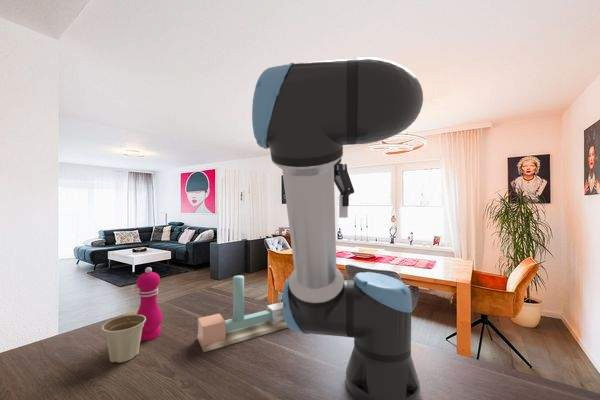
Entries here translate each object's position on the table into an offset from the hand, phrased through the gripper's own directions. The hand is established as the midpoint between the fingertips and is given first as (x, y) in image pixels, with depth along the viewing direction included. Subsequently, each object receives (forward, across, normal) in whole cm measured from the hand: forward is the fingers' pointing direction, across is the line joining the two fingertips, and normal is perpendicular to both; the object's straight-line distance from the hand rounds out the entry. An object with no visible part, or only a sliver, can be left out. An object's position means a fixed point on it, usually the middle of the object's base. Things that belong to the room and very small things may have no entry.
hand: (329, 216), depth 86 cm
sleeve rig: (+34, +8, +23) cm, 42 cm away
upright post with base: (+32, +8, +26) cm, 42 cm away
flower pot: (+35, +13, +55) cm, 67 cm away
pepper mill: (+35, +21, +50) cm, 64 cm away
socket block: (+33, +8, +35) cm, 49 cm away
